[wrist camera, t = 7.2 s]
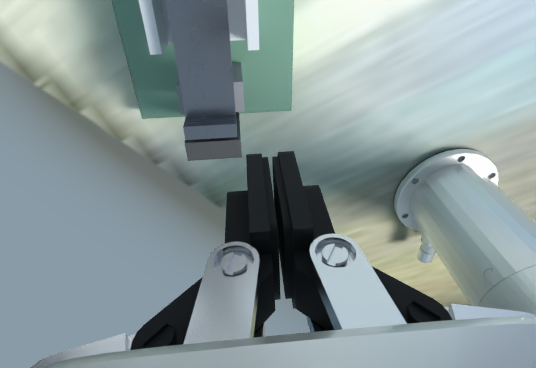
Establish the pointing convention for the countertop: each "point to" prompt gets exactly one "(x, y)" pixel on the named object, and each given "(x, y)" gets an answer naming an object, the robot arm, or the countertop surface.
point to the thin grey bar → (204, 67)
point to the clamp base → (242, 53)
